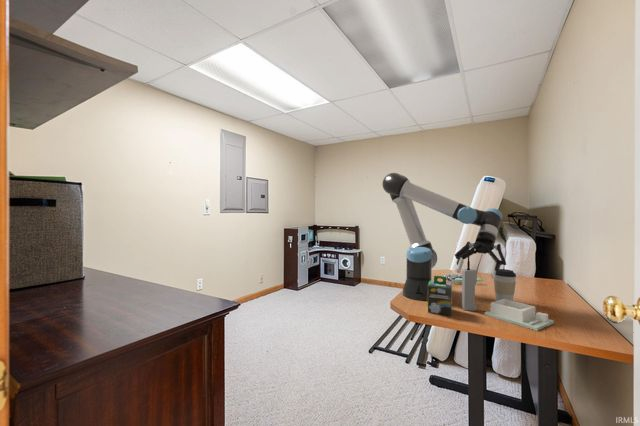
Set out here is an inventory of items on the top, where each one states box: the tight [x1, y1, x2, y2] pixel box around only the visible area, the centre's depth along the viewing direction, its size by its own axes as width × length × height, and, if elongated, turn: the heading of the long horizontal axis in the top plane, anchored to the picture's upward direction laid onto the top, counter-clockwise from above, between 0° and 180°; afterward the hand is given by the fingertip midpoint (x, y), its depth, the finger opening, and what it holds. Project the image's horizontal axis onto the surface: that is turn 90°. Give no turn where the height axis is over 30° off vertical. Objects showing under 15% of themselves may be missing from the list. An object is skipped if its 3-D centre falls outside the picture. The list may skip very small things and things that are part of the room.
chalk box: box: [427, 275, 453, 317], centre depth 119 cm, size 9×9×15 cm
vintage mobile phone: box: [461, 251, 479, 312], centre depth 121 cm, size 4×5×25 cm
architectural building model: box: [484, 299, 555, 332], centre depth 111 cm, size 18×14×5 cm
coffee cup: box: [493, 268, 517, 301], centre depth 133 cm, size 9×9×15 cm
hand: (474, 273), depth 121 cm, fingers open, 13 cm apart
